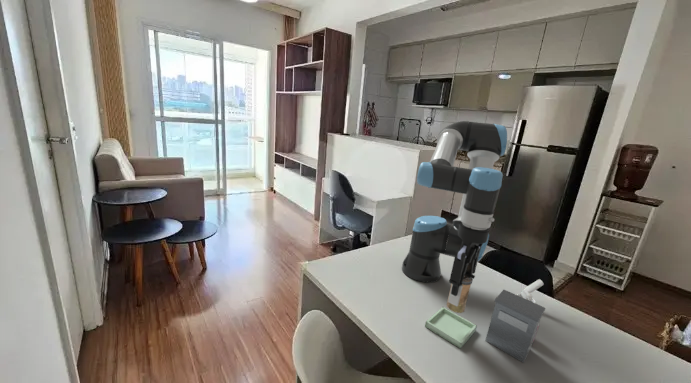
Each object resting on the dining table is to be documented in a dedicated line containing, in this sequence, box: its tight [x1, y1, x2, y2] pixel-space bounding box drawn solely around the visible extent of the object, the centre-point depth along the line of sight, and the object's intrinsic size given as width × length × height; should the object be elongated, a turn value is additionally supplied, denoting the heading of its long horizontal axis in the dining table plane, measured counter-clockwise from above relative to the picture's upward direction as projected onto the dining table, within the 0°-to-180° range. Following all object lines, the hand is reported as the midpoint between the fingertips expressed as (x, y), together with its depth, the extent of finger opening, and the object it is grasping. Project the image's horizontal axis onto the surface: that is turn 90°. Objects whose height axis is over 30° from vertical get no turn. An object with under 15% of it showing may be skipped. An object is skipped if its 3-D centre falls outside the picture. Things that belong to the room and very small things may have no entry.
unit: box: [484, 289, 546, 364], centre depth 82 cm, size 11×8×14 cm
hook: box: [515, 278, 545, 304], centre depth 104 cm, size 8×12×7 cm
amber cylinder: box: [446, 274, 474, 314], centre depth 85 cm, size 5×5×10 cm
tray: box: [424, 306, 478, 350], centre depth 88 cm, size 11×11×2 cm
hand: (457, 299), depth 85 cm, fingers closed on amber cylinder, 5 cm apart
